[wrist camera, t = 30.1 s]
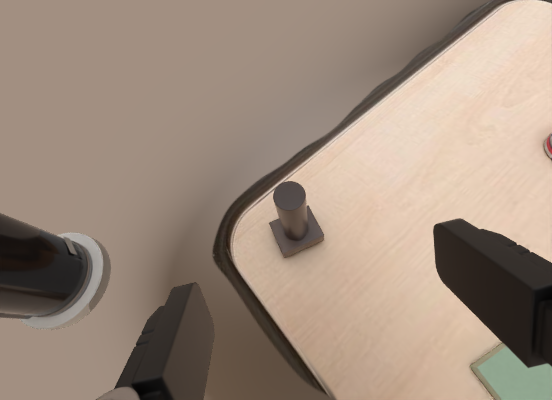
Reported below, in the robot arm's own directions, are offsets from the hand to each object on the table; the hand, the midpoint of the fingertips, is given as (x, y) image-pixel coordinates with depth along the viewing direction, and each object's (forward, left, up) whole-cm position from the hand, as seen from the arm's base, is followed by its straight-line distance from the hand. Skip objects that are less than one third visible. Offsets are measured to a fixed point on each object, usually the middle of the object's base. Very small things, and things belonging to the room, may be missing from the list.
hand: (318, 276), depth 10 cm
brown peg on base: (+3, +9, -25) cm, 26 cm away
